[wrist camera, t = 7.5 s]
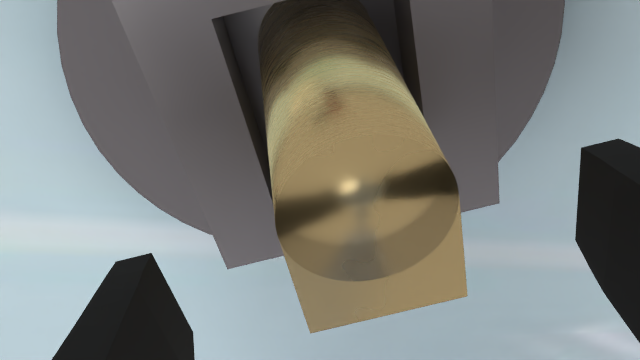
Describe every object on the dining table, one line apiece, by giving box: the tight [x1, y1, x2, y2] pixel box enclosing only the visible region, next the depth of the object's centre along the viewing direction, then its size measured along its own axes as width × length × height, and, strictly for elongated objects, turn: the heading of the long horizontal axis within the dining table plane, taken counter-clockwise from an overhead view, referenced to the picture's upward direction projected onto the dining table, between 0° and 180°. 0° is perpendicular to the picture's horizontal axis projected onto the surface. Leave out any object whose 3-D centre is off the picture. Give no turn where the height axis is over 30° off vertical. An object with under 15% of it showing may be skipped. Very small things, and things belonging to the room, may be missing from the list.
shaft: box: [258, 0, 467, 333], centre depth 13 cm, size 4×3×7 cm
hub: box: [57, 0, 565, 269], centre depth 15 cm, size 13×13×3 cm
